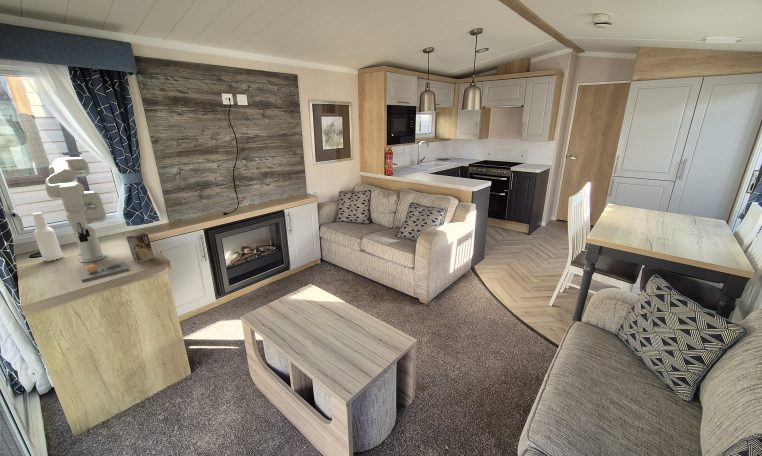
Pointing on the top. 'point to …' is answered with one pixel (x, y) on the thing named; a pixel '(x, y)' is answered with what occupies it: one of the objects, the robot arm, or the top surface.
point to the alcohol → (46, 239)
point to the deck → (104, 271)
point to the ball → (92, 268)
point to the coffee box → (140, 247)
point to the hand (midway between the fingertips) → (85, 239)
